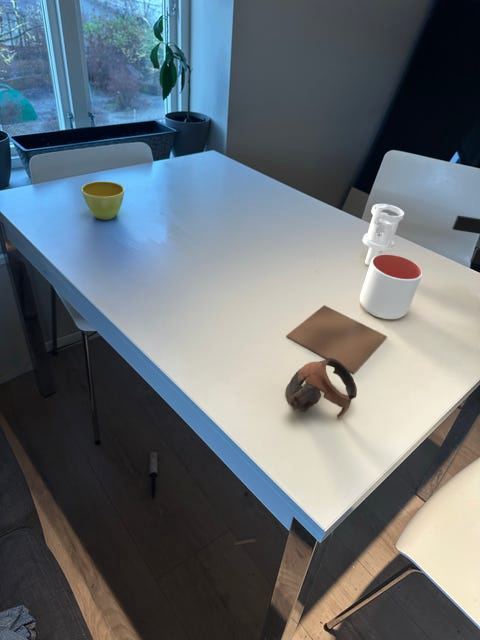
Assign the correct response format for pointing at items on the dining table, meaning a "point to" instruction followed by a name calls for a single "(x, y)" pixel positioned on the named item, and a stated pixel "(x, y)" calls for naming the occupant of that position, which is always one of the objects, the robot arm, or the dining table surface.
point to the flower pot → (103, 198)
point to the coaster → (337, 338)
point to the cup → (390, 286)
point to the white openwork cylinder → (381, 230)
